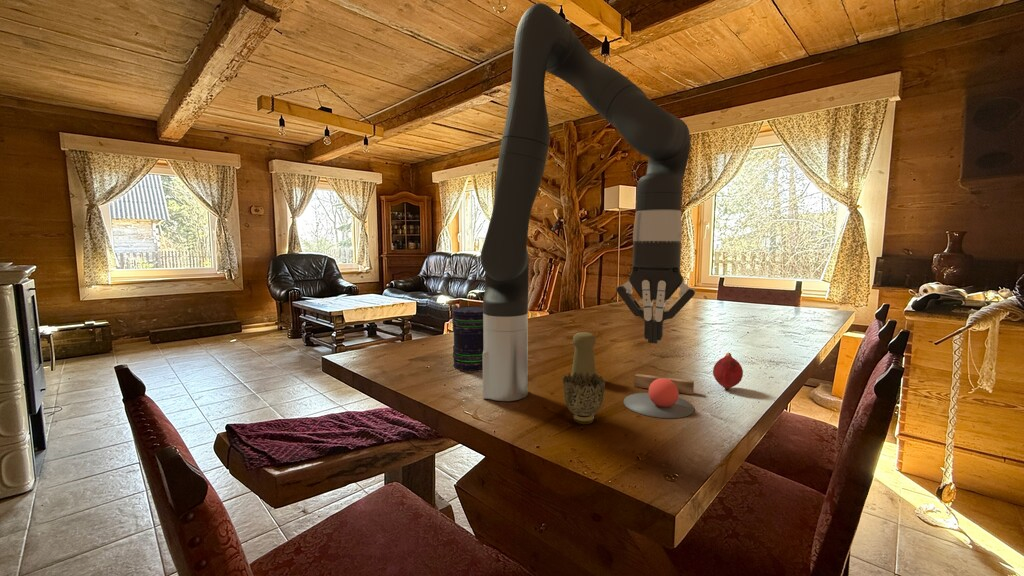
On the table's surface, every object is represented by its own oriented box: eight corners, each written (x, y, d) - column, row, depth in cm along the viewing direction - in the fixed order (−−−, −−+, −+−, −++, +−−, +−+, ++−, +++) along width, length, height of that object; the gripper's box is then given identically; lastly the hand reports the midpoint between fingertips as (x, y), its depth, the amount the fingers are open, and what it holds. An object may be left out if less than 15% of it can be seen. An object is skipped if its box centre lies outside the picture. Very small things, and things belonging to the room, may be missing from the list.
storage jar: (457, 360, 117) (456, 305, 116) (493, 361, 116) (493, 306, 115) (448, 371, 107) (447, 311, 106) (487, 372, 106) (487, 312, 105)
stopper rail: (693, 392, 92) (693, 380, 92) (693, 394, 90) (693, 382, 90) (635, 384, 97) (635, 373, 97) (634, 386, 95) (634, 375, 95)
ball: (659, 401, 87) (658, 417, 83) (643, 380, 87) (641, 394, 82) (684, 390, 85) (684, 406, 80) (668, 368, 84) (667, 383, 80)
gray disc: (634, 418, 78) (634, 417, 78) (616, 393, 91) (616, 392, 91) (706, 418, 78) (706, 417, 78) (678, 393, 91) (678, 392, 91)
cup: (558, 413, 80) (559, 371, 79) (597, 412, 81) (598, 370, 80) (567, 431, 73) (567, 385, 72) (609, 429, 74) (611, 383, 73)
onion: (745, 394, 90) (747, 357, 90) (716, 392, 92) (718, 355, 91) (737, 385, 96) (739, 350, 95) (709, 383, 97) (711, 349, 96)
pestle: (567, 381, 99) (568, 334, 98) (573, 374, 105) (574, 329, 104) (593, 384, 97) (594, 336, 96) (598, 377, 102) (599, 331, 101)
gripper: (701, 239, 72) (696, 341, 74) (620, 239, 77) (618, 334, 79) (699, 238, 65) (694, 351, 67) (611, 239, 71) (608, 343, 72)
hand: (653, 342), depth 73 cm, fingers closed
